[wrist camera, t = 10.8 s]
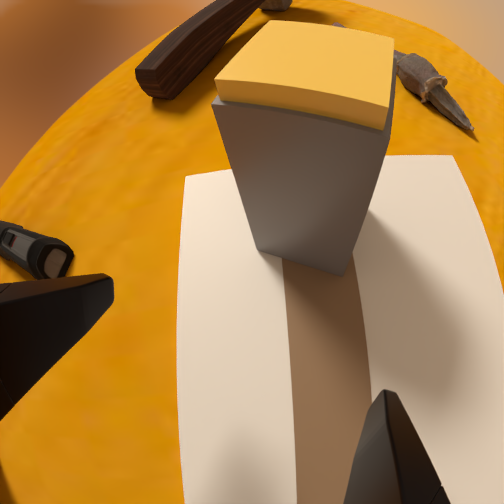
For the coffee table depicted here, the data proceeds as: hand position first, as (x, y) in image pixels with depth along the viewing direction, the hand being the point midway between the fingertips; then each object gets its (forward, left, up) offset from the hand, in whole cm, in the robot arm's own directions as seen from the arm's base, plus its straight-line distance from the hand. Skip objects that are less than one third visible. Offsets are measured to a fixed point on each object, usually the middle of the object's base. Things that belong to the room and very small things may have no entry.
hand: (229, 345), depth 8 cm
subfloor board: (-1, -6, -8) cm, 10 cm away
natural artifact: (+26, -16, -8) cm, 32 cm away
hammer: (+37, +1, -8) cm, 38 cm away
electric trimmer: (+9, +21, -8) cm, 25 cm away
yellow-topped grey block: (+7, -4, -7) cm, 11 cm away
